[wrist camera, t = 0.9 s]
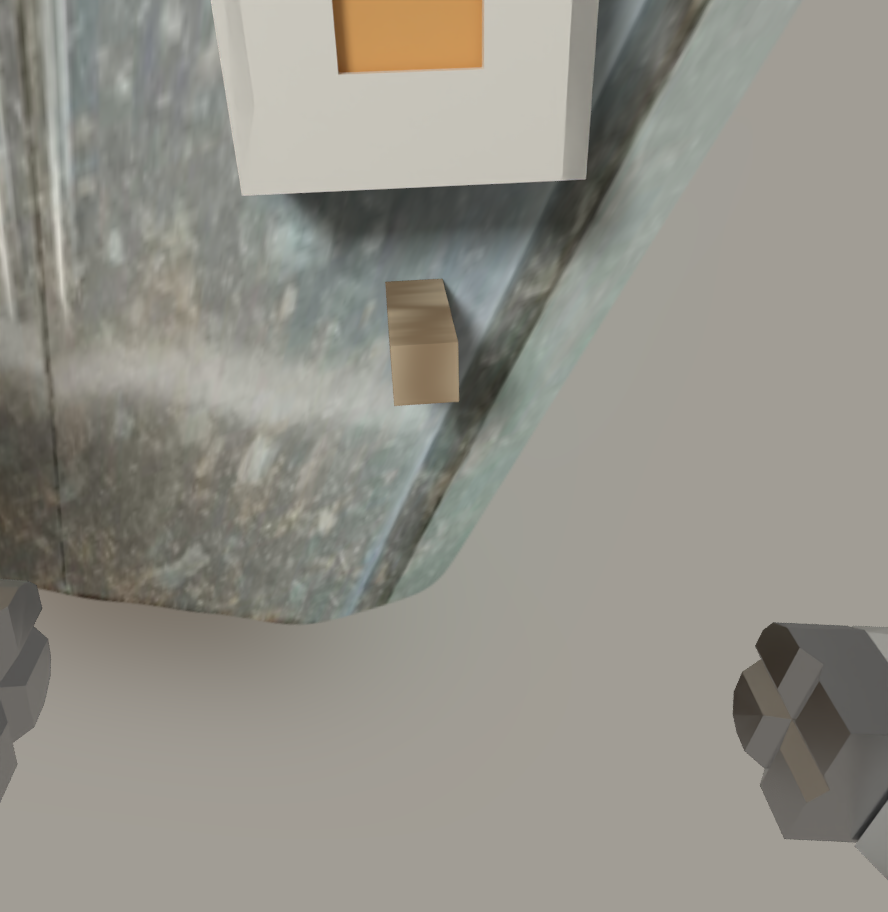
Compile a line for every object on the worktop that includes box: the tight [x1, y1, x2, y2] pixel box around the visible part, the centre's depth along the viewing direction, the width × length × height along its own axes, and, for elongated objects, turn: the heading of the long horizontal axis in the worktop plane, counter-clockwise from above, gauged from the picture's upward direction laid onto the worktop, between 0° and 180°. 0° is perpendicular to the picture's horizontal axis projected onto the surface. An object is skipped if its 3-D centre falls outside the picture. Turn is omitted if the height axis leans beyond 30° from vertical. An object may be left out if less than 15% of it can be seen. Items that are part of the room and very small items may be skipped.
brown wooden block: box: [385, 279, 459, 406], centre depth 39 cm, size 3×3×8 cm
